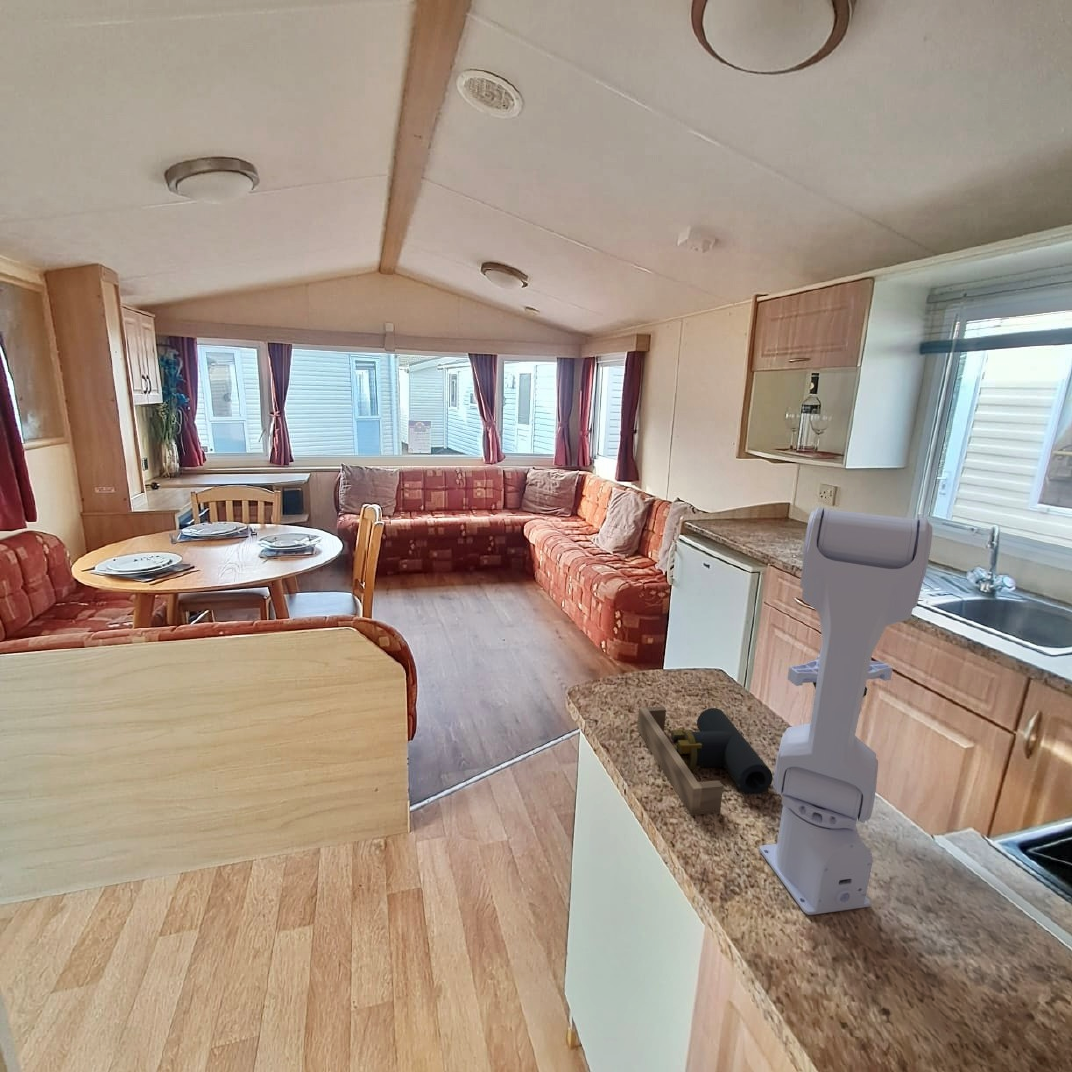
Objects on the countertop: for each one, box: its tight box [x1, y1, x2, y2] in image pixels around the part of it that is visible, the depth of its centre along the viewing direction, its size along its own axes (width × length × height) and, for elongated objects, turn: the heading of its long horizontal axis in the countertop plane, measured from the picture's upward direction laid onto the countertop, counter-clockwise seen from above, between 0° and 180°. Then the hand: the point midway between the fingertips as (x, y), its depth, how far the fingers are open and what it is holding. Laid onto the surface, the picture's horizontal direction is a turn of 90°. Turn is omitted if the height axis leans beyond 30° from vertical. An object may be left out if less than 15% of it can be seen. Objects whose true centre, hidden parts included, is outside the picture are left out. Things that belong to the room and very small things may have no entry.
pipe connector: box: [670, 707, 774, 795], centre depth 87 cm, size 12×5×15 cm
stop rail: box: [636, 705, 724, 816], centre depth 85 cm, size 20×4×4 cm, turn 10°
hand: (831, 727), depth 80 cm, fingers closed
